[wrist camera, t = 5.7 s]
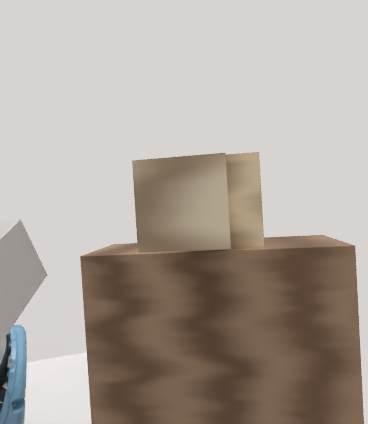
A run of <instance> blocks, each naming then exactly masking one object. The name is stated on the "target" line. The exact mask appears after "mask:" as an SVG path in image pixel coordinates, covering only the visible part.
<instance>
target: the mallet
mask: <svg viewBox="0 0 368 424" xmlns="http://www.w3.org/2000/svg"><path fill="white" fill-rule="evenodd" d="M132 163H133V179H134V195H135V210H136V227H137V241H138V253H144V252H181V251H206V250H232V249H257V248H264V234H263V217H262V200H261V199H262V198H261V180H260V163H259V152H253V153H242V154H230V155H226V154H225V153H219V154H207V155H195V156H182V157H171V158H159V159H147V160H135V161H132Z"/></svg>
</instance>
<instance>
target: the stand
mask: <svg viewBox="0 0 368 424" xmlns="http://www.w3.org/2000/svg"><path fill="white" fill-rule="evenodd" d="M80 258H81V271H82V287H83V301H84V316H85V331H86V346H87V361H88V375H89V390H90V405H91V420H92V424H364V417H363V398H362V376H361V356H360V338H359V337H360V336H359V316H358V295H357V276H356V255H355V246H354V245H351V244H348V243H345V242H342V241H339V240H336V239H333V238H330V237H327V236H324V235H313V236H291V237H270V238H264V248H257V249H232V250H206V251H181V252H144V253H138V243H133V244H114V245H111V246H108V247H105V248H102V249H100V250H97V251H94V252H91V253H89V254H86V255H83V256H81V257H80Z"/></svg>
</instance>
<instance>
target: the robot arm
mask: <svg viewBox="0 0 368 424" xmlns="http://www.w3.org/2000/svg"><path fill="white" fill-rule="evenodd" d="M46 276H47V273H46V271H45V269H44V267H43V265H42V263H41V261H40V259H39V257H38V255H37V253H36V250H35V248H34V246H33V245H32V242H31V240H30V238H29V236H28V234H27V232H26V230H25V228H24V226H23V224H22V222H21V220H3V221H1V222H0V424H24V416H25V400H24V398H25V389H26V332H25V329H24V328H23V327H22V326H21V325H14V323H15V322H16V320H17V319H18V317H19V316H20V314H21V313H22V311H23V310H24V308H25V307H26V305H27V304H28V303H29V301H30V300H31V298H32V297H33V295H34V294H35V292H36V291H37V289H38V288H39V286H40V285H41V283H42V282H43V280H44V279H45V277H46Z"/></svg>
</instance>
